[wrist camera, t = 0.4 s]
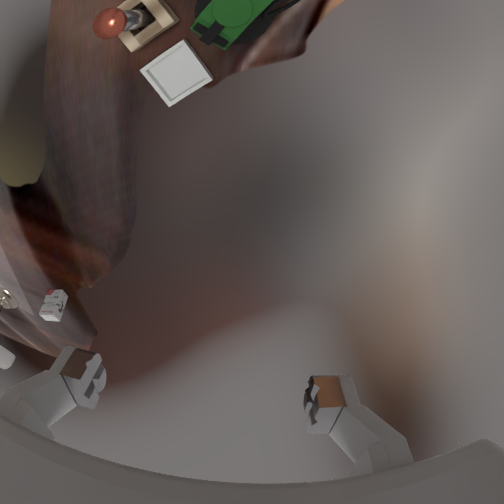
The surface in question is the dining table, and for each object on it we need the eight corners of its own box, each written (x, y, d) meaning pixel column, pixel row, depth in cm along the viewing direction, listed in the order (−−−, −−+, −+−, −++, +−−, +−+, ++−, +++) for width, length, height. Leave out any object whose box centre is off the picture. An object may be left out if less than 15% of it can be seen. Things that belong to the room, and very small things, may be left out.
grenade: (290, -1, 35) (317, -8, 21) (241, 49, 42) (240, 68, 29) (242, -34, 30) (242, -60, 16) (193, 18, 37) (166, 22, 24)
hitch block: (114, 17, 34) (103, 18, 31) (153, -13, 31) (145, -15, 28) (140, 48, 40) (131, 52, 37) (180, 20, 37) (174, 21, 34)
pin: (129, 17, 35) (87, 24, 23) (150, 2, 33) (112, 1, 22) (143, 33, 38) (104, 45, 26) (163, 19, 36) (131, 23, 25)
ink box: (53, 296, 97) (45, 321, 89) (47, 289, 93) (38, 314, 85) (68, 296, 97) (60, 322, 89) (62, 289, 93) (53, 315, 85)
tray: (143, 67, 43) (139, 70, 42) (185, 38, 40) (183, 39, 38) (172, 103, 49) (169, 107, 48) (213, 77, 46) (212, 80, 44)
